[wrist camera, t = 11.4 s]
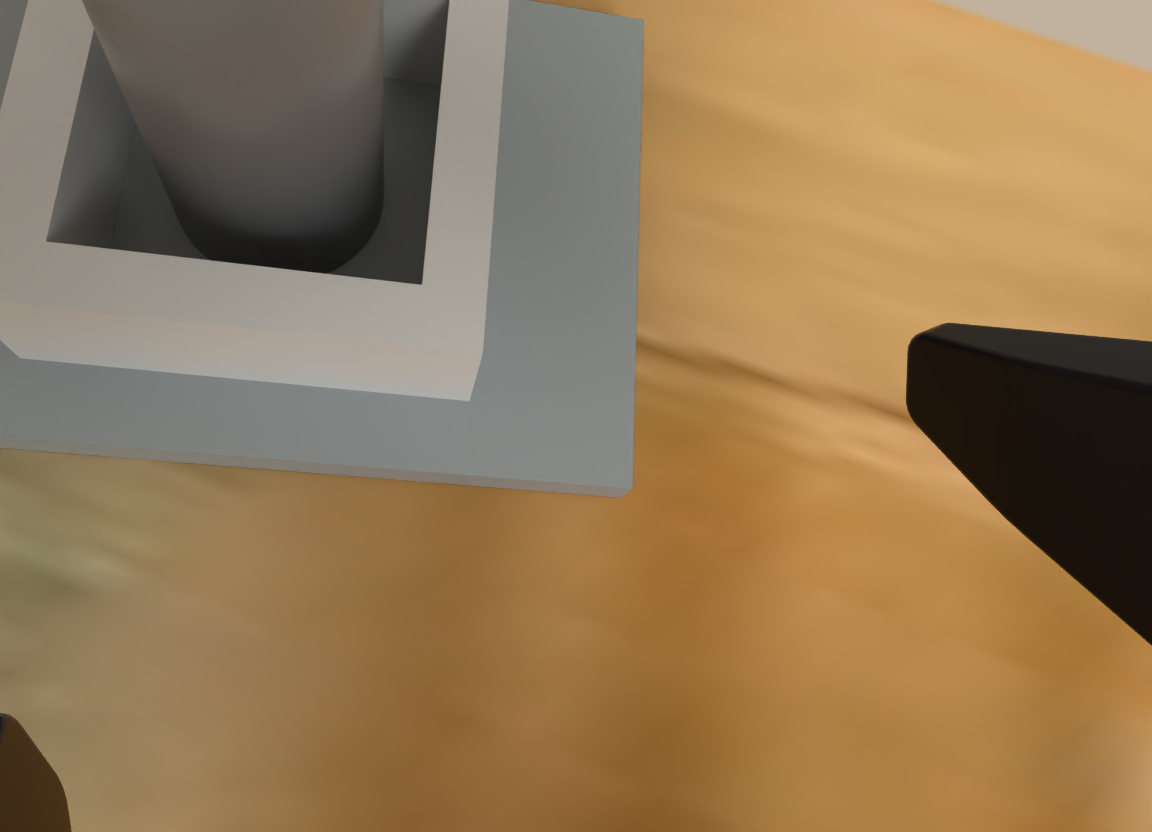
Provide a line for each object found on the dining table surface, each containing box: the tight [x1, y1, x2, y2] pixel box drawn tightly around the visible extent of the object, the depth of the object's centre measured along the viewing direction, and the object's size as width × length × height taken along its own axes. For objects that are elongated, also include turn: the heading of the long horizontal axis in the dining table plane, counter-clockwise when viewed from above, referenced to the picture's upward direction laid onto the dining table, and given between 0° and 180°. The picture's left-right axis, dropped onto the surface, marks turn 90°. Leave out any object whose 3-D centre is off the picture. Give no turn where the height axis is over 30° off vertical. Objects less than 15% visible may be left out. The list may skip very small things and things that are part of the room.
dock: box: [0, 0, 644, 498], centre depth 19 cm, size 12×16×4 cm
